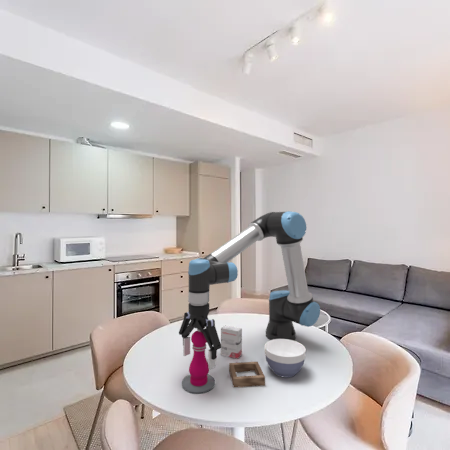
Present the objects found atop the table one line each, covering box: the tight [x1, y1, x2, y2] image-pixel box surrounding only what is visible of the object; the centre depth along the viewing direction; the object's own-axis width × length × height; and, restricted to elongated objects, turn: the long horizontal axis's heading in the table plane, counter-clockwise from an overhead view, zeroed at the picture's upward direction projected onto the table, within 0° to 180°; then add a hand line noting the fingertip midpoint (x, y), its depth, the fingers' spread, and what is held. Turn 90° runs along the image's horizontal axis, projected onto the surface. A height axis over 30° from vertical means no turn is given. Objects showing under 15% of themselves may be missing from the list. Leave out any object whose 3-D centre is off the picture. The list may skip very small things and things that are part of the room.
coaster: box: [181, 373, 216, 395], centre depth 105 cm, size 12×12×1 cm
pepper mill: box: [188, 328, 210, 386], centre depth 105 cm, size 7×7×20 cm
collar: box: [228, 361, 266, 388], centre depth 109 cm, size 12×12×3 cm
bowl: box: [264, 339, 307, 378], centre depth 114 cm, size 16×16×10 cm
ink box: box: [220, 325, 243, 360], centre depth 127 cm, size 9×5×12 cm, turn 65°
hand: (198, 360), depth 105 cm, fingers open, 13 cm apart
